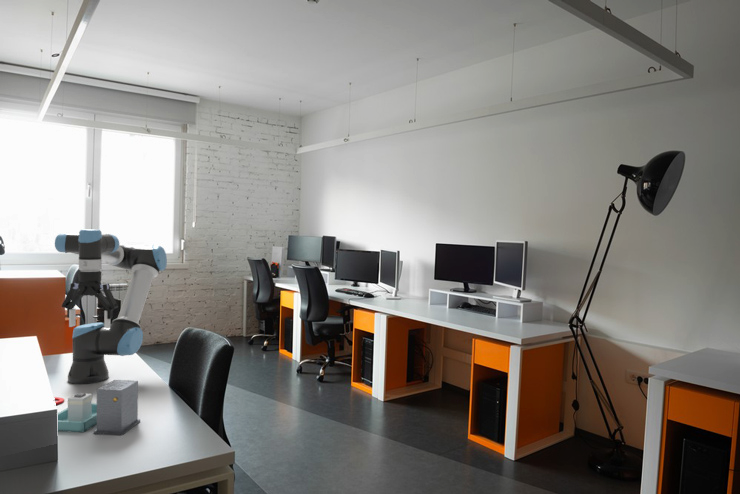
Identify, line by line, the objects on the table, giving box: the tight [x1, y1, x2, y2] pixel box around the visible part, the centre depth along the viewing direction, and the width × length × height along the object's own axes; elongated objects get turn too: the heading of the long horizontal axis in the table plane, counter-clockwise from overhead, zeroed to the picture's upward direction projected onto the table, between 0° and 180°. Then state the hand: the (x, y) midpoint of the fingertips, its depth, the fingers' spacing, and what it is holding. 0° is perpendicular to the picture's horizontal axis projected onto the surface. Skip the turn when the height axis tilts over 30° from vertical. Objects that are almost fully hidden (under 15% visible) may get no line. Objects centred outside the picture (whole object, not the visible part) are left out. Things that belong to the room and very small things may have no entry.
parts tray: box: [57, 402, 97, 433], centre depth 170 cm, size 17×13×3 cm
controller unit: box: [93, 379, 141, 436], centre depth 165 cm, size 11×9×14 cm
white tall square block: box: [67, 392, 93, 421], centre depth 170 cm, size 5×5×9 cm
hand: (89, 327), depth 193 cm, fingers open, 13 cm apart
